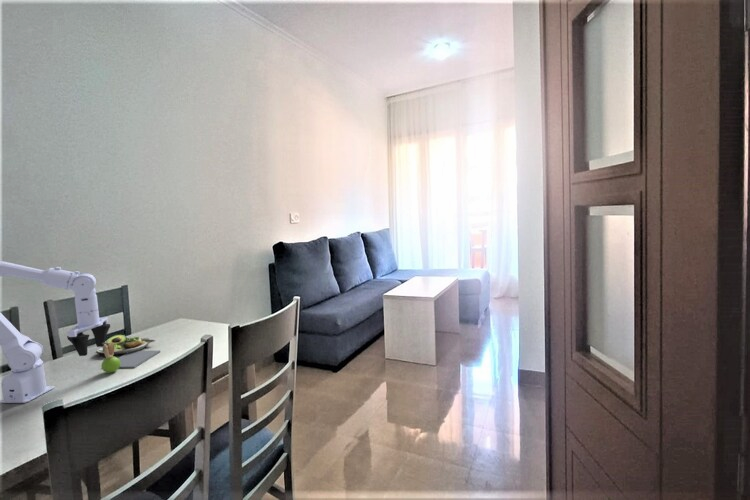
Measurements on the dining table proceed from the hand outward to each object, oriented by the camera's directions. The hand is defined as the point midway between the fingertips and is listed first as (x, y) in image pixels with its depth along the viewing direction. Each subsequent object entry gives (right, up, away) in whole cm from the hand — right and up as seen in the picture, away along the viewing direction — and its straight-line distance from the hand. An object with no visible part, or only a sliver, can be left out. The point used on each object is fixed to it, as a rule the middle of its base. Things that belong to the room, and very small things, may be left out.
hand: (92, 350), depth 122 cm
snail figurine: (+1, -10, +7) cm, 12 cm away
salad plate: (-9, -7, +30) cm, 32 cm away
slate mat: (+1, -8, +18) cm, 20 cm away
